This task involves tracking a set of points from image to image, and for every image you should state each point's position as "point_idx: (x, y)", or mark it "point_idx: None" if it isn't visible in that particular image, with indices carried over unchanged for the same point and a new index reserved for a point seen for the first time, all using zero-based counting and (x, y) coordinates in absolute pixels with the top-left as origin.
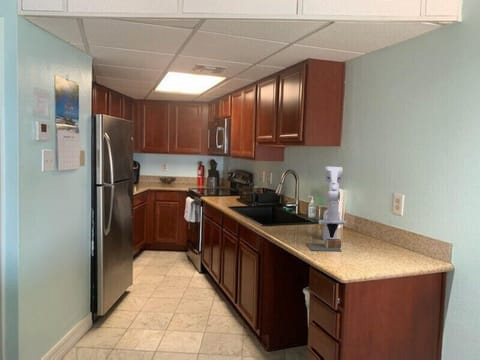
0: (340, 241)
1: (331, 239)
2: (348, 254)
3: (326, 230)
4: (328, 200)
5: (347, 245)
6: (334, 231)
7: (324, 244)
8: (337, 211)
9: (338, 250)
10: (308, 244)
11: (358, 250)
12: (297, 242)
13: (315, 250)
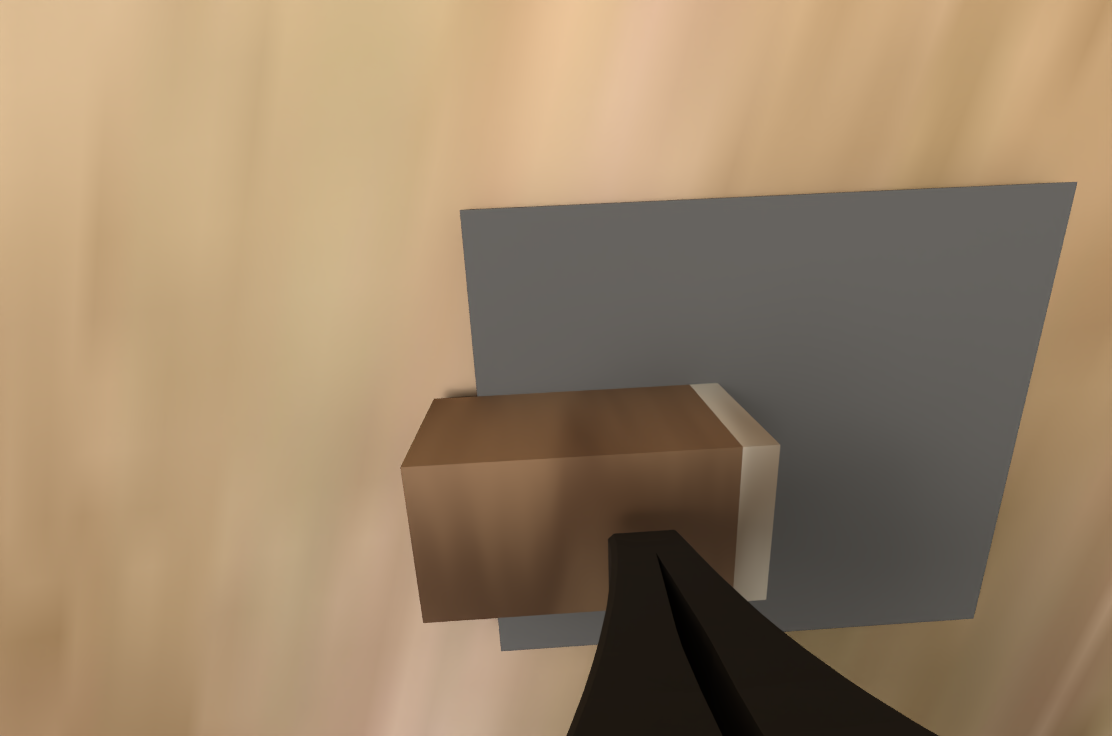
0: (425, 457)
1: None
2: (347, 29)
3: None
4: None
5: (276, 650)
6: (630, 662)
7: None
8: None
9: (523, 209)
10: (964, 551)
11: (105, 371)
12: (1032, 693)
13: (987, 187)
